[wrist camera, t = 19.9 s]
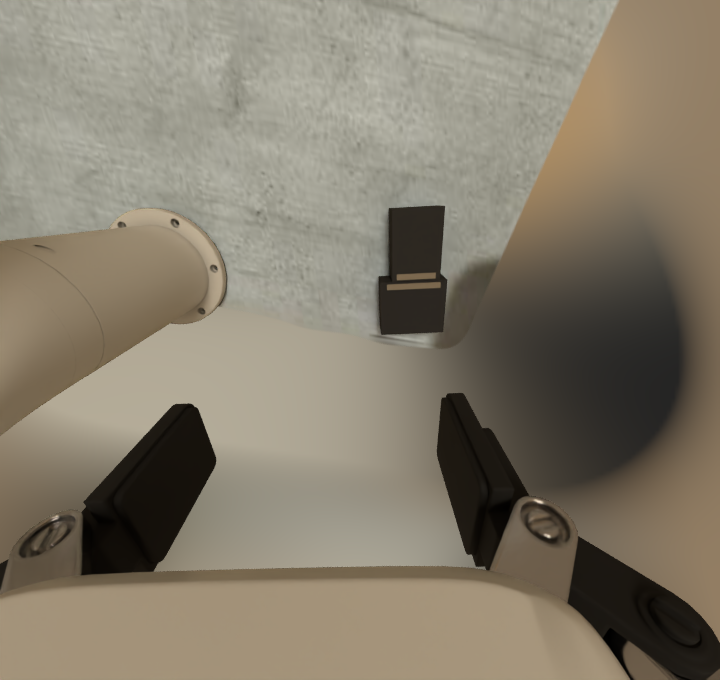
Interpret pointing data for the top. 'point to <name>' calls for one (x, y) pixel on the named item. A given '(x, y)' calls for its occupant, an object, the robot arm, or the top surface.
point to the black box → (415, 243)
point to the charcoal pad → (411, 306)
